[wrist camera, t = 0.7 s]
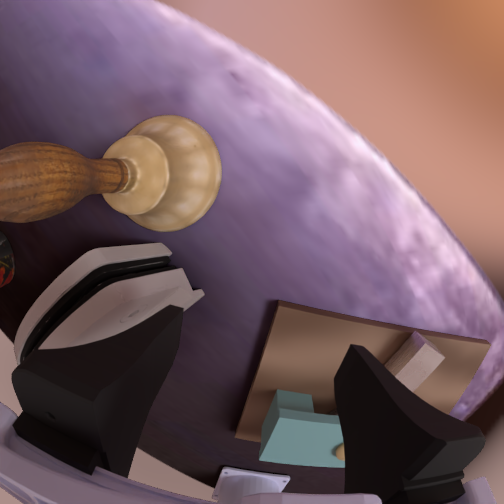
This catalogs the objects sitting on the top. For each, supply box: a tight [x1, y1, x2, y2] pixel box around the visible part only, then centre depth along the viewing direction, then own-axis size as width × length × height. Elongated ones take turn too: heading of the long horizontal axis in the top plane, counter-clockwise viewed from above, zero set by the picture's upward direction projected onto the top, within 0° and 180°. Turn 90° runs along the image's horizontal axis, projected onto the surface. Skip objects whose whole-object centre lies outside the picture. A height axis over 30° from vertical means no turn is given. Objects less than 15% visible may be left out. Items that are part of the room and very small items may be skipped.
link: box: [327, 331, 445, 416], centre depth 21 cm, size 12×4×2 cm, turn 146°
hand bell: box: [0, 115, 222, 232], centre depth 12 cm, size 8×8×16 cm
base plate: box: [235, 300, 491, 442], centre depth 24 cm, size 15×22×1 cm
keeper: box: [259, 389, 345, 467], centre depth 22 cm, size 6×12×4 cm, turn 76°
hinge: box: [14, 243, 205, 365], centre depth 19 cm, size 17×5×10 cm, turn 130°
